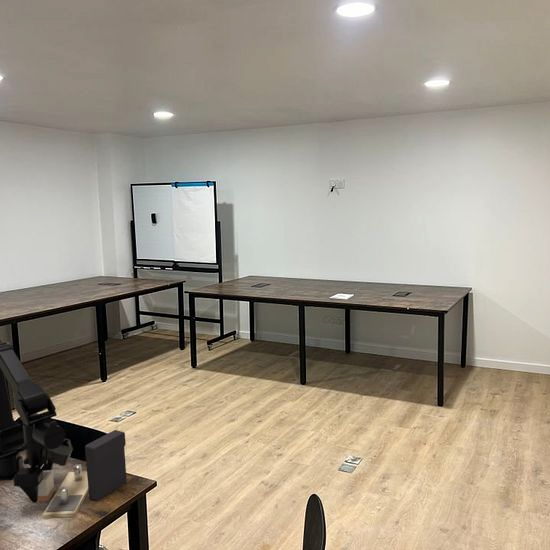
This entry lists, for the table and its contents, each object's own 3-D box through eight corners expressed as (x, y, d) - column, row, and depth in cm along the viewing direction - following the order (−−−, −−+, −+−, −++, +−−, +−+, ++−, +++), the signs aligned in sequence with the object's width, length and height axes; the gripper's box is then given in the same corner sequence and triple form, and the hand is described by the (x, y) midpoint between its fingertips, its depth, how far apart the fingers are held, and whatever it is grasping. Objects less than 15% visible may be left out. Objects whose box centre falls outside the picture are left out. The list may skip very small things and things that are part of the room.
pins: (59, 506, 138) (58, 491, 138) (76, 477, 152) (74, 464, 152) (67, 505, 138) (66, 491, 138) (83, 477, 152) (82, 464, 152)
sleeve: (28, 502, 142) (26, 480, 142) (35, 491, 147) (33, 471, 146) (48, 500, 143) (46, 479, 142) (54, 490, 148) (52, 470, 147)
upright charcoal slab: (117, 478, 153) (113, 428, 151) (128, 482, 151) (125, 431, 149) (86, 498, 143) (82, 445, 141) (98, 502, 141) (94, 448, 139)
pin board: (42, 518, 135) (42, 514, 135) (69, 475, 156) (69, 471, 155) (75, 516, 135) (75, 512, 135) (97, 473, 156) (97, 469, 156)
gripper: (55, 452, 134) (60, 511, 136) (77, 421, 152) (82, 473, 155) (9, 455, 133) (15, 513, 135) (37, 423, 152) (42, 475, 154)
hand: (41, 492), depth 145 cm, fingers open, 9 cm apart
